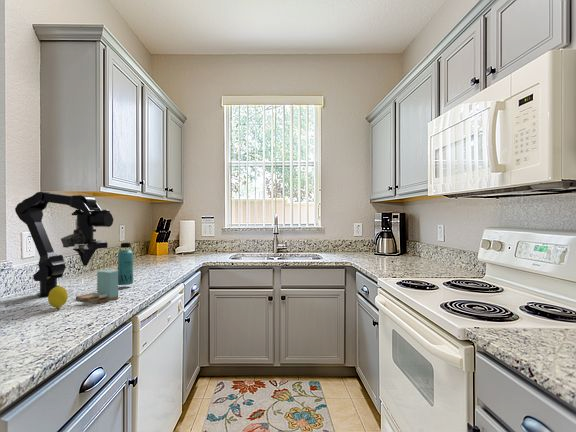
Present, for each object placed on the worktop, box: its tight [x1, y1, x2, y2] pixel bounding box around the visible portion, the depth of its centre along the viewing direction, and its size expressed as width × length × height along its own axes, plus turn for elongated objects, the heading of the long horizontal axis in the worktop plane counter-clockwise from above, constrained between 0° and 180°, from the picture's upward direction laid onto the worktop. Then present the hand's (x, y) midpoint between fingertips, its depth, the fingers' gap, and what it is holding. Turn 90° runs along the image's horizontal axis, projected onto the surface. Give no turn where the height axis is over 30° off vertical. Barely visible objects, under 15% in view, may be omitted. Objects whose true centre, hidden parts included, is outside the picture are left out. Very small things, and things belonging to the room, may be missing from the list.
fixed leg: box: [99, 270, 119, 298], centre depth 125 cm, size 4×6×10 cm, turn 157°
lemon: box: [47, 285, 69, 310], centre depth 114 cm, size 6×6×8 cm
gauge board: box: [75, 292, 119, 304], centre depth 127 cm, size 14×8×1 cm, turn 67°
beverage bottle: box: [117, 242, 134, 286], centre depth 149 cm, size 6×7×20 cm
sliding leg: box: [92, 269, 112, 297], centre depth 127 cm, size 4×6×10 cm, turn 157°
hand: (85, 265), depth 132 cm, fingers closed
